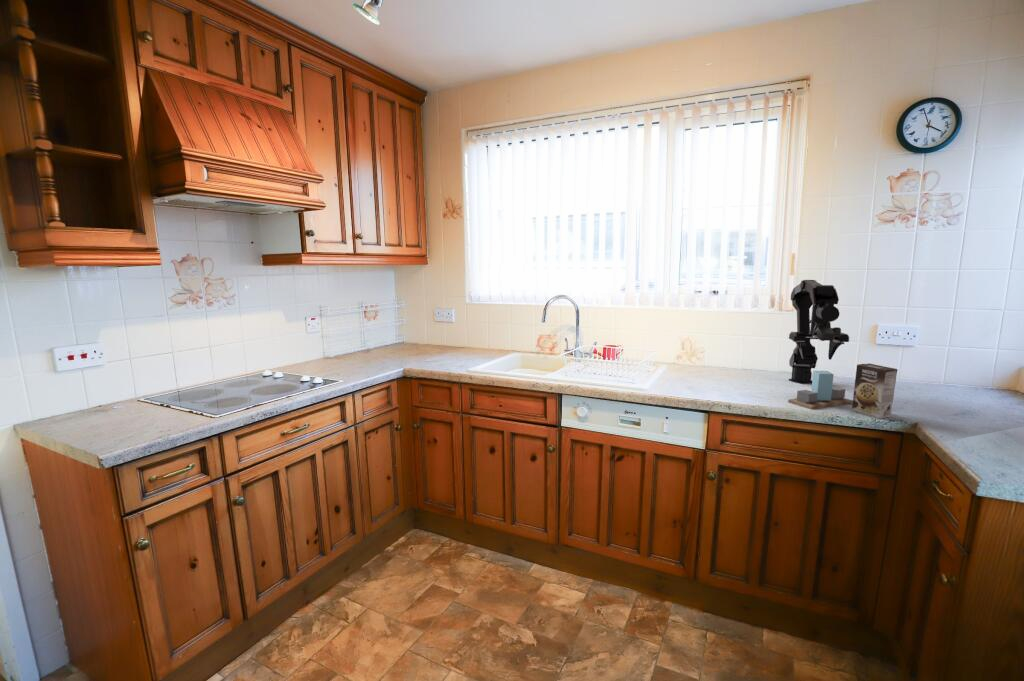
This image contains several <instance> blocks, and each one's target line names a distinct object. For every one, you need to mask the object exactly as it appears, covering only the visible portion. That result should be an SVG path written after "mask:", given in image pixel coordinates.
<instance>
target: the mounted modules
mask: <svg viewBox="0 0 1024 681" xmlns="http://www.w3.org/2000/svg"><path fill="white" fill-rule="evenodd" d="M796 394H797V395H796V398H797V399H798V400H802V401H805V402H815V401H817V393H816V392H812V391H811V390H808V389H802V390H797V393H796ZM845 395H846V389H845V388H842V387H837V386H833V385H832V394H831V397H833V398H836V399H837V398H846V397H845Z"/></svg>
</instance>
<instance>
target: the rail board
mask: <svg viewBox="0 0 1024 681" xmlns="http://www.w3.org/2000/svg"><path fill="white" fill-rule="evenodd" d="M787 402H788V403H790V404H793V405H797V406H800V407H803V408H805V409H809V410H814V409H820V408H821V407H822V408H826V407H827V408H828V406H829V407H835V406H834V405H836V406H842V405H841V404H843V405H848V403H850V404H852V403H853V399H849V398H846V397H844V399H838V400H831V401H823V402H816V403H809V404H805V403H802V402H799V401H797V397H796V398H790V399H789V398H788V401H787Z"/></svg>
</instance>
